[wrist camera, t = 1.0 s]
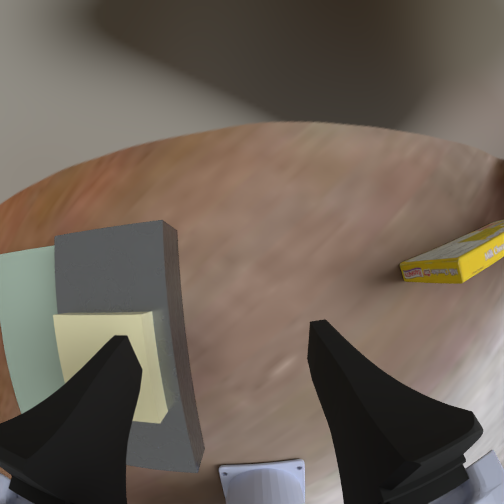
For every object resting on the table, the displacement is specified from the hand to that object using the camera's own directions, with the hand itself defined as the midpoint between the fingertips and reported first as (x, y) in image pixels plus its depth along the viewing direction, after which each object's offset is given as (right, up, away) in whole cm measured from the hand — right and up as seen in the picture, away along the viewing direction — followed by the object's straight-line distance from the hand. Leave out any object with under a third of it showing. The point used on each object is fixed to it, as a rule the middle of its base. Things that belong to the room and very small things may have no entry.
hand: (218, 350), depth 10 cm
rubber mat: (-21, -6, +11) cm, 25 cm away
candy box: (+22, +4, +13) cm, 26 cm away
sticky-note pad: (-9, -4, +7) cm, 12 cm away
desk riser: (-9, -5, +11) cm, 15 cm away
